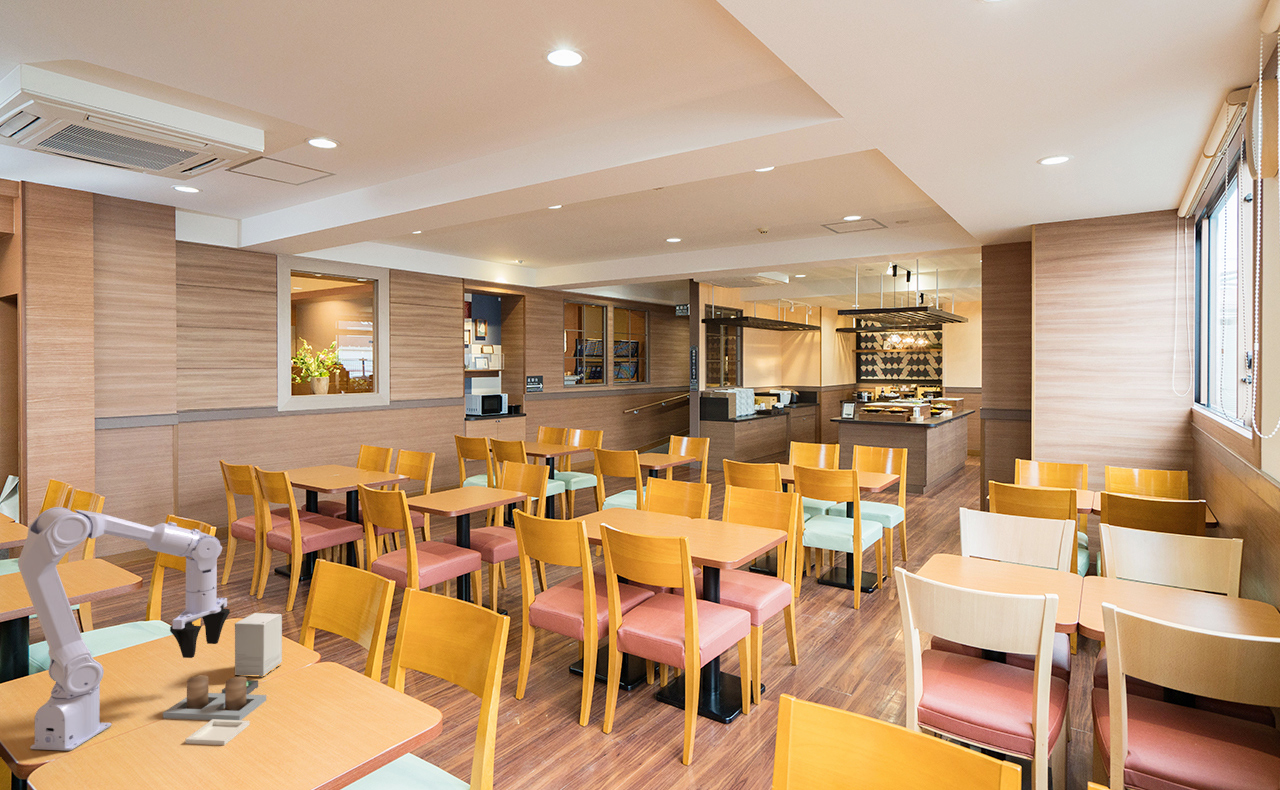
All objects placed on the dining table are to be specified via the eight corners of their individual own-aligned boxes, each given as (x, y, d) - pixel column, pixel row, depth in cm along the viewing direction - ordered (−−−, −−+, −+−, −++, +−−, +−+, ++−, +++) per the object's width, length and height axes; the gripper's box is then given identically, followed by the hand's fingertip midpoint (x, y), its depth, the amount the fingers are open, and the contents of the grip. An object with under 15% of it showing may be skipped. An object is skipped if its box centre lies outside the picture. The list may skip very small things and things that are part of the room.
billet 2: (237, 716, 139) (238, 685, 139) (220, 715, 139) (221, 684, 139) (250, 707, 143) (250, 677, 142) (233, 706, 143) (233, 676, 143)
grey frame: (239, 723, 136) (239, 715, 136) (162, 719, 137) (163, 712, 137) (266, 702, 145) (266, 695, 145) (194, 699, 146) (194, 692, 146)
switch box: (244, 698, 146) (244, 690, 146) (221, 697, 147) (221, 689, 147) (258, 688, 151) (258, 680, 151) (236, 687, 152) (236, 679, 152)
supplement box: (283, 665, 164) (283, 613, 164) (263, 678, 157) (263, 624, 156) (254, 663, 165) (255, 611, 164) (233, 676, 157) (233, 622, 157)
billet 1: (200, 714, 139) (200, 683, 139) (182, 714, 139) (182, 682, 139) (212, 706, 143) (212, 675, 143) (195, 705, 143) (195, 675, 143)
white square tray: (224, 747, 127) (224, 740, 127) (185, 745, 128) (185, 739, 128) (249, 726, 135) (249, 720, 135) (212, 725, 135) (212, 719, 135)
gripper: (195, 599, 140) (195, 664, 140) (240, 579, 154) (239, 638, 155) (162, 598, 140) (162, 663, 141) (210, 578, 155) (209, 637, 155)
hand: (200, 650), depth 148 cm, fingers open, 7 cm apart
